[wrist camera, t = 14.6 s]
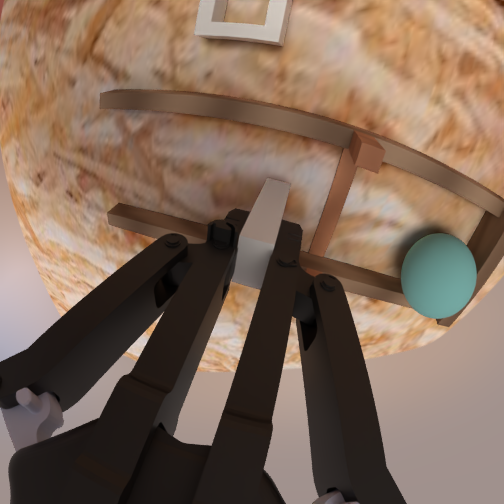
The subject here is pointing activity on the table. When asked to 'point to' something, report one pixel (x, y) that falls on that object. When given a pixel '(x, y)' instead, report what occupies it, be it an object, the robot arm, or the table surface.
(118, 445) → the robot arm
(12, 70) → the table surface
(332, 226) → the lane
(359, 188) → the table surface
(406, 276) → the ball
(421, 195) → the table surface
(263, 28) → the white square frame
